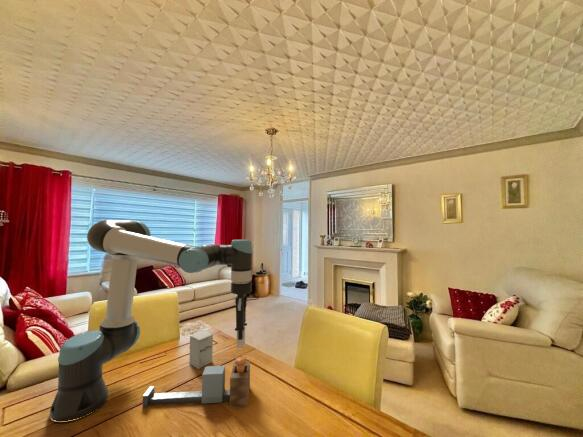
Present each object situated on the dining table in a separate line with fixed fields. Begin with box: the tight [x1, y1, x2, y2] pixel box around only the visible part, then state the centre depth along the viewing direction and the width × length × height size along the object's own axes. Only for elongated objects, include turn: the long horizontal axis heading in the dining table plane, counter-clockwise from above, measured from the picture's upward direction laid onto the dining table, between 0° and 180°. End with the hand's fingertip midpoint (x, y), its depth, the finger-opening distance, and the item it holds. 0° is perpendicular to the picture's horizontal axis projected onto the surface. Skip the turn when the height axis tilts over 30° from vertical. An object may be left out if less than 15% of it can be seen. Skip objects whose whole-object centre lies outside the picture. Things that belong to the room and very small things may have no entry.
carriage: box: [201, 365, 226, 404], centre depth 89 cm, size 7×5×10 cm
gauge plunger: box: [234, 356, 247, 373], centre depth 90 cm, size 4×4×6 cm
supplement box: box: [189, 330, 214, 370], centre depth 112 cm, size 7×7×13 cm
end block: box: [229, 360, 251, 409], centre depth 89 cm, size 6×10×10 cm, turn 5°
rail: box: [142, 385, 230, 409], centre depth 88 cm, size 30×5×4 cm, turn 95°
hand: (240, 345), depth 90 cm, fingers closed
